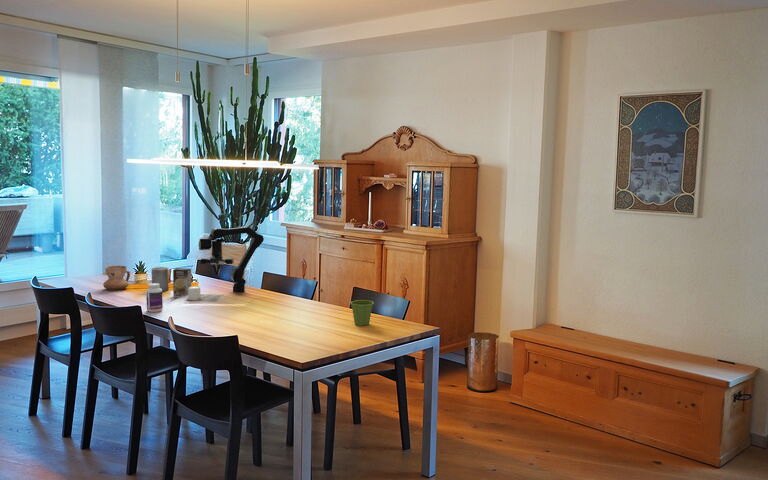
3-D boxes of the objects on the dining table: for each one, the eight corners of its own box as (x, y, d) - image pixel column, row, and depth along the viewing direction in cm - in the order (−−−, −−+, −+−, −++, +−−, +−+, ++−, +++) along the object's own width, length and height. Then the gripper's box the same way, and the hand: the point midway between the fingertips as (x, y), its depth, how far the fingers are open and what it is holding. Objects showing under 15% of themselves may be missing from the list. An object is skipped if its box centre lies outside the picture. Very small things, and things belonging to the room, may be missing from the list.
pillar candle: (162, 288, 417) (161, 264, 415) (171, 290, 411) (171, 266, 409) (148, 290, 409) (147, 266, 407) (158, 292, 403) (157, 268, 401)
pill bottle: (166, 310, 355) (165, 283, 353) (155, 313, 347) (154, 286, 346) (154, 308, 358) (153, 282, 356) (143, 311, 351) (142, 284, 349)
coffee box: (172, 296, 392) (172, 269, 390) (177, 294, 398) (176, 267, 396) (187, 297, 391) (187, 270, 389) (191, 295, 397) (191, 268, 395)
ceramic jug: (109, 292, 400) (109, 269, 398) (96, 289, 408) (96, 266, 407) (136, 289, 414) (136, 266, 412) (123, 286, 423) (123, 263, 421)
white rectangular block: (200, 298, 382) (200, 286, 382) (198, 299, 377) (197, 288, 376) (191, 297, 382) (190, 286, 382) (188, 299, 377) (188, 288, 376)
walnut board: (224, 296, 394) (224, 294, 394) (216, 303, 374) (216, 301, 374) (193, 296, 394) (193, 294, 394) (184, 303, 374) (184, 300, 374)
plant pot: (350, 321, 337) (351, 299, 336) (374, 322, 336) (374, 300, 335) (348, 327, 325) (349, 304, 324) (373, 327, 325) (373, 305, 323)
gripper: (197, 250, 387) (198, 277, 388) (229, 251, 387) (230, 277, 389) (202, 248, 398) (202, 274, 399) (233, 249, 398) (233, 274, 400)
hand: (217, 275), depth 397 cm, fingers closed
